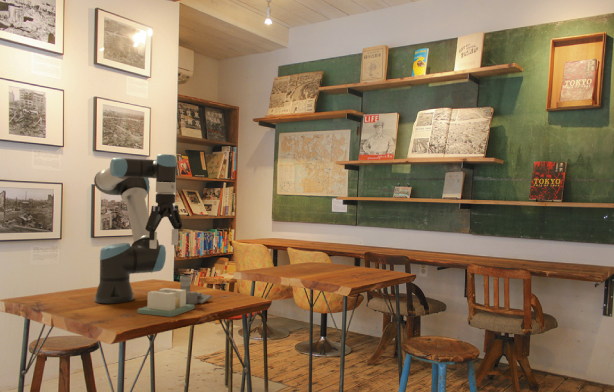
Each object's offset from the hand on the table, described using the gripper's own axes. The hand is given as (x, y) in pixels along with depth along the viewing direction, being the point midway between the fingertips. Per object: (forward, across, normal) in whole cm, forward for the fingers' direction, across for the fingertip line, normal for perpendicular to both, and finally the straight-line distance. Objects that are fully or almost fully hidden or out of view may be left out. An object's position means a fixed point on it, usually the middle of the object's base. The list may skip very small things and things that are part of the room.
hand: (164, 246), depth 198 cm
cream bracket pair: (+22, -7, -8) cm, 24 cm away
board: (+23, -7, -8) cm, 25 cm away
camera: (+24, +8, -9) cm, 26 cm away
